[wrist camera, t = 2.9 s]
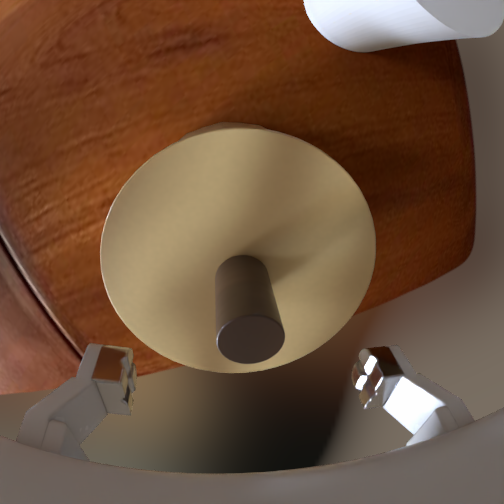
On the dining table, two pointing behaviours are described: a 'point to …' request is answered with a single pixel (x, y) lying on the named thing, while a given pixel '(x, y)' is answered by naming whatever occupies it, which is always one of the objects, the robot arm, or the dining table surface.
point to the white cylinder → (402, 21)
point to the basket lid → (238, 250)
